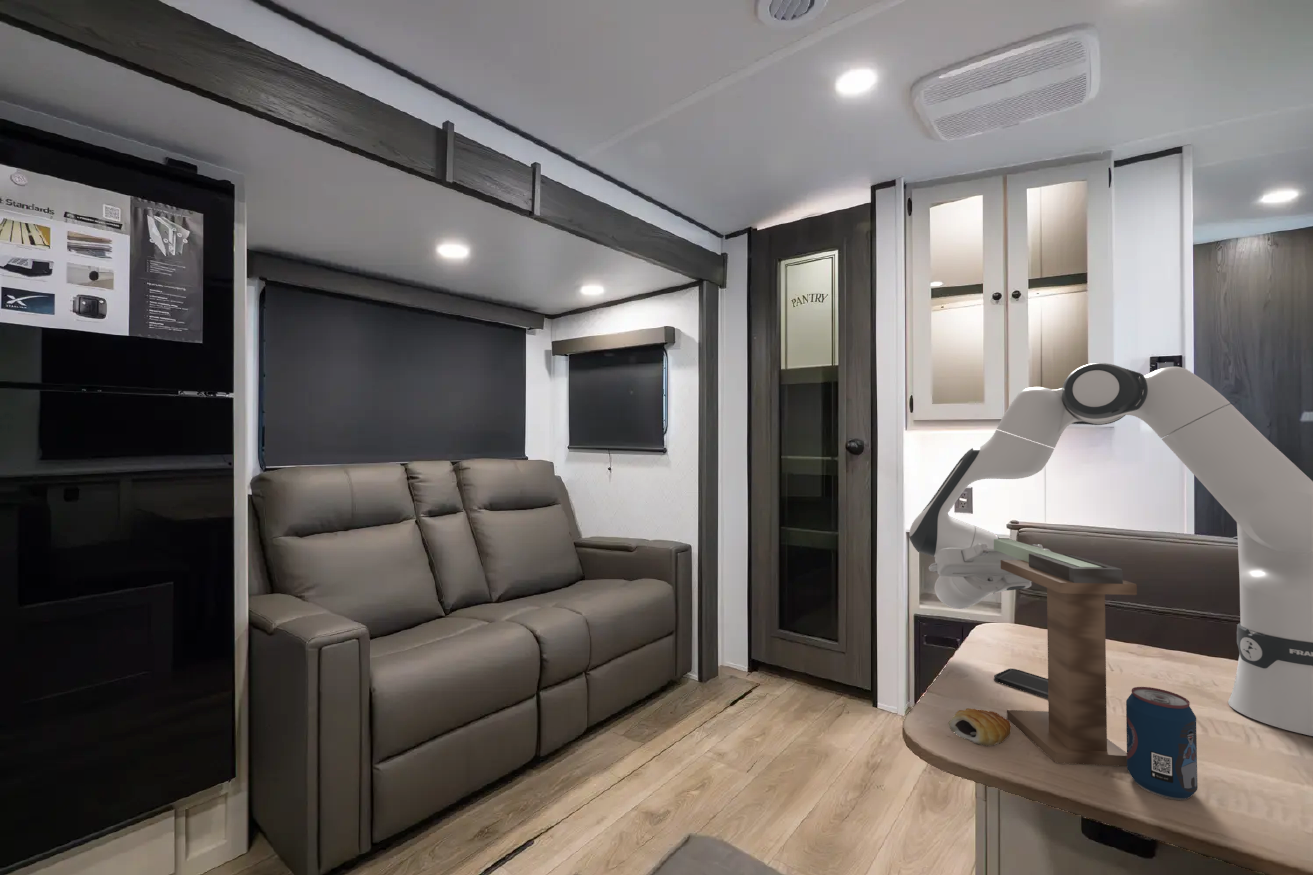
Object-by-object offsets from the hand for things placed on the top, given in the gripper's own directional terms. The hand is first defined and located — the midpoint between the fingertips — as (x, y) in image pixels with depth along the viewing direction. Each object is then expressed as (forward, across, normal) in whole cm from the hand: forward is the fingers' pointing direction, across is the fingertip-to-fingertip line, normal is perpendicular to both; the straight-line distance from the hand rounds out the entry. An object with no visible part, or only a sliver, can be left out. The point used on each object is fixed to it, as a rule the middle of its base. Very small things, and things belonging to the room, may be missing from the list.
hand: (1011, 547), depth 100 cm
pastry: (-2, -12, +30) cm, 33 cm away
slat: (+7, 0, +5) cm, 9 cm away
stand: (-1, 0, +30) cm, 31 cm away
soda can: (+8, +5, +36) cm, 38 cm away
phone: (-18, +8, +22) cm, 29 cm away
